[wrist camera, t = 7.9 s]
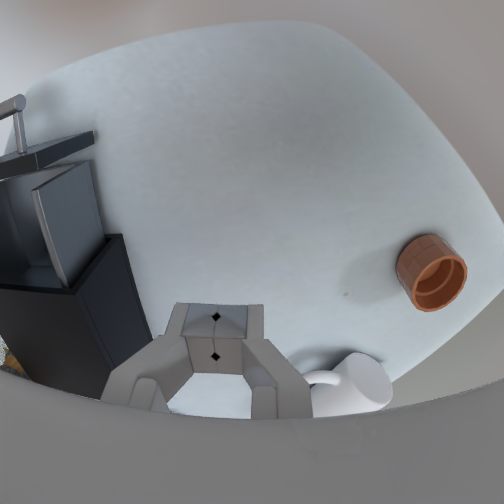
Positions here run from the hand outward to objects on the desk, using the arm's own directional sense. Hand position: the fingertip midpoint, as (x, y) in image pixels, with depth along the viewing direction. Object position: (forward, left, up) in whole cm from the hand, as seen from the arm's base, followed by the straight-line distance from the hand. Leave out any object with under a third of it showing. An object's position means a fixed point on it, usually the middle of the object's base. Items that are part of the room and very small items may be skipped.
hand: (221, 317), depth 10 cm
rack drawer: (-1, -19, -15) cm, 24 cm away
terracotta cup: (+8, +18, -16) cm, 25 cm away
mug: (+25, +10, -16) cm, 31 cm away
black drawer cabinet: (+12, -19, -16) cm, 27 cm away
